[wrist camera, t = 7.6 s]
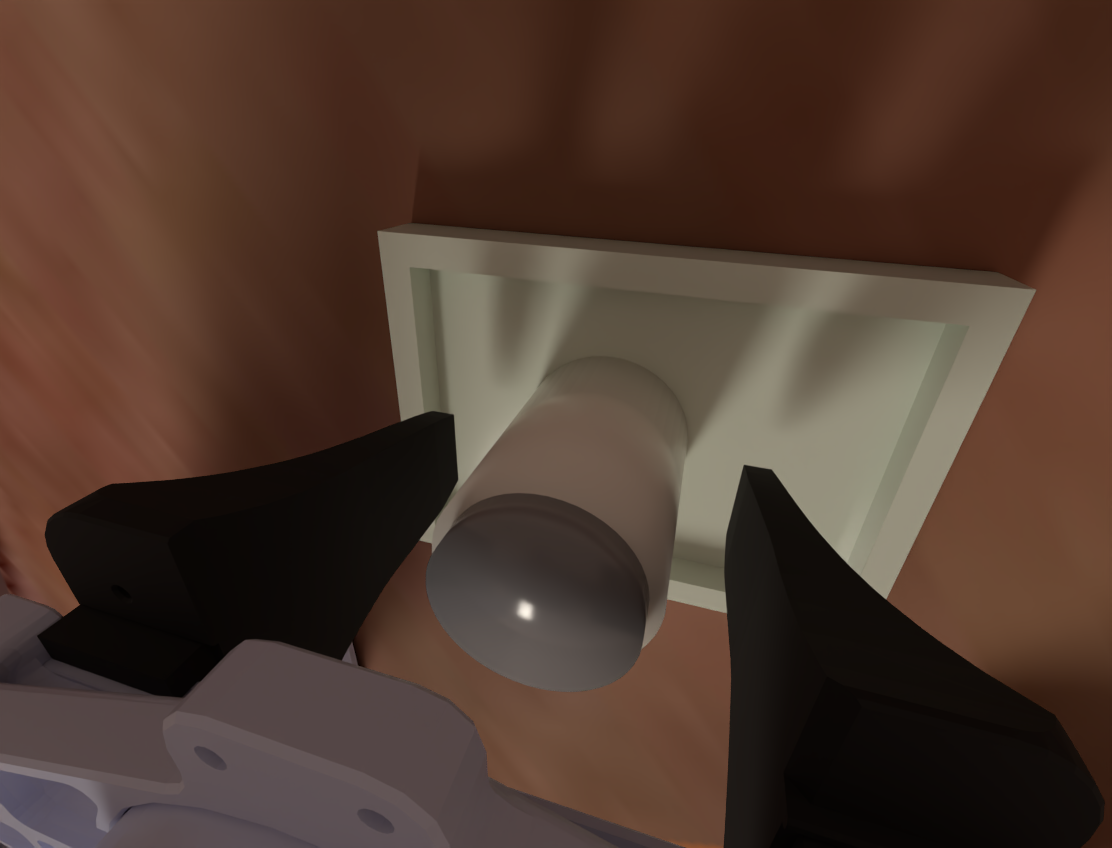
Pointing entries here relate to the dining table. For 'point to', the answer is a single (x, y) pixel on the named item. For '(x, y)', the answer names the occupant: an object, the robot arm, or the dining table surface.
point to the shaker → (566, 530)
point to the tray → (716, 369)
